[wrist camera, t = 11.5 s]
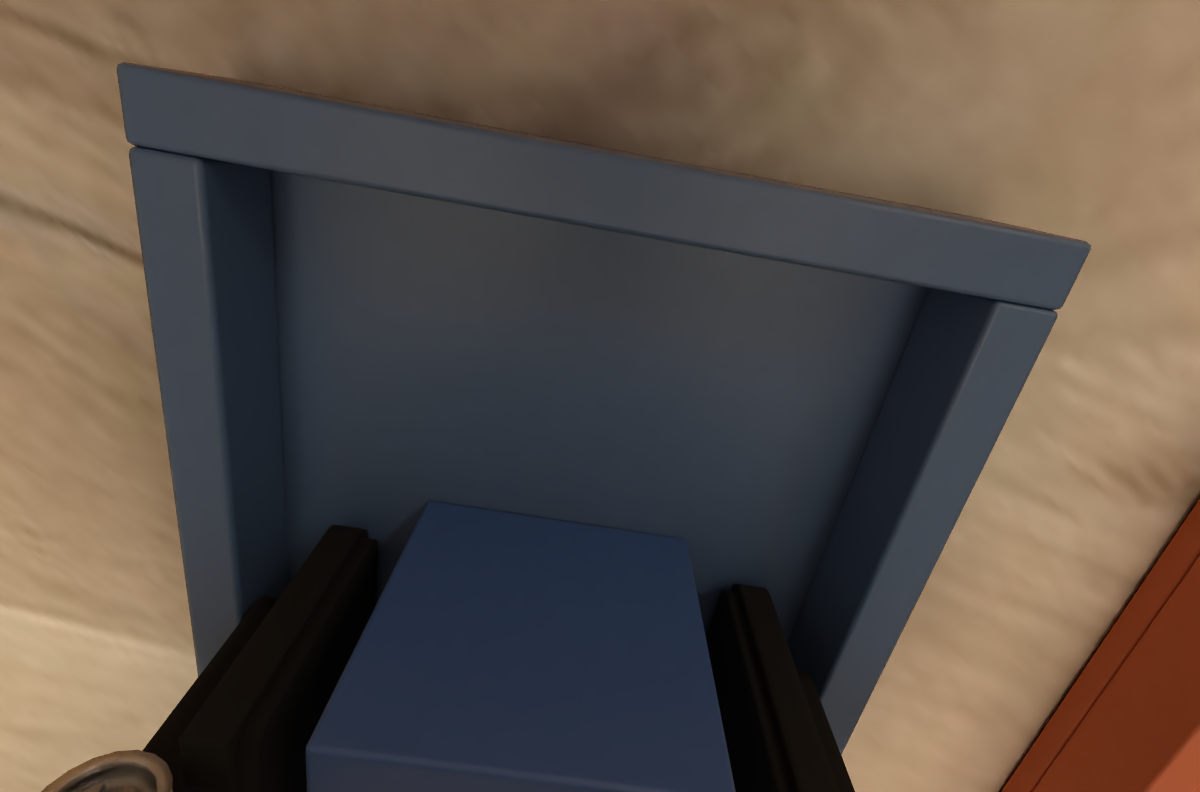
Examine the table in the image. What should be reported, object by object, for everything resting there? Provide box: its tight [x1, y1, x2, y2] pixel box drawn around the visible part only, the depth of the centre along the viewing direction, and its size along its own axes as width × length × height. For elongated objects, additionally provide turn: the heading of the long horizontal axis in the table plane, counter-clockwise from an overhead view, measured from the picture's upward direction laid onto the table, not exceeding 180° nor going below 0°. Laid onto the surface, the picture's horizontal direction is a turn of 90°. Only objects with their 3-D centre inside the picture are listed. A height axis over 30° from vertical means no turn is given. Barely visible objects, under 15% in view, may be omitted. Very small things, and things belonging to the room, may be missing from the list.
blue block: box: [306, 501, 736, 792], centre depth 9 cm, size 4×4×4 cm
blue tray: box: [117, 62, 1091, 754], centre depth 10 cm, size 16×11×2 cm
